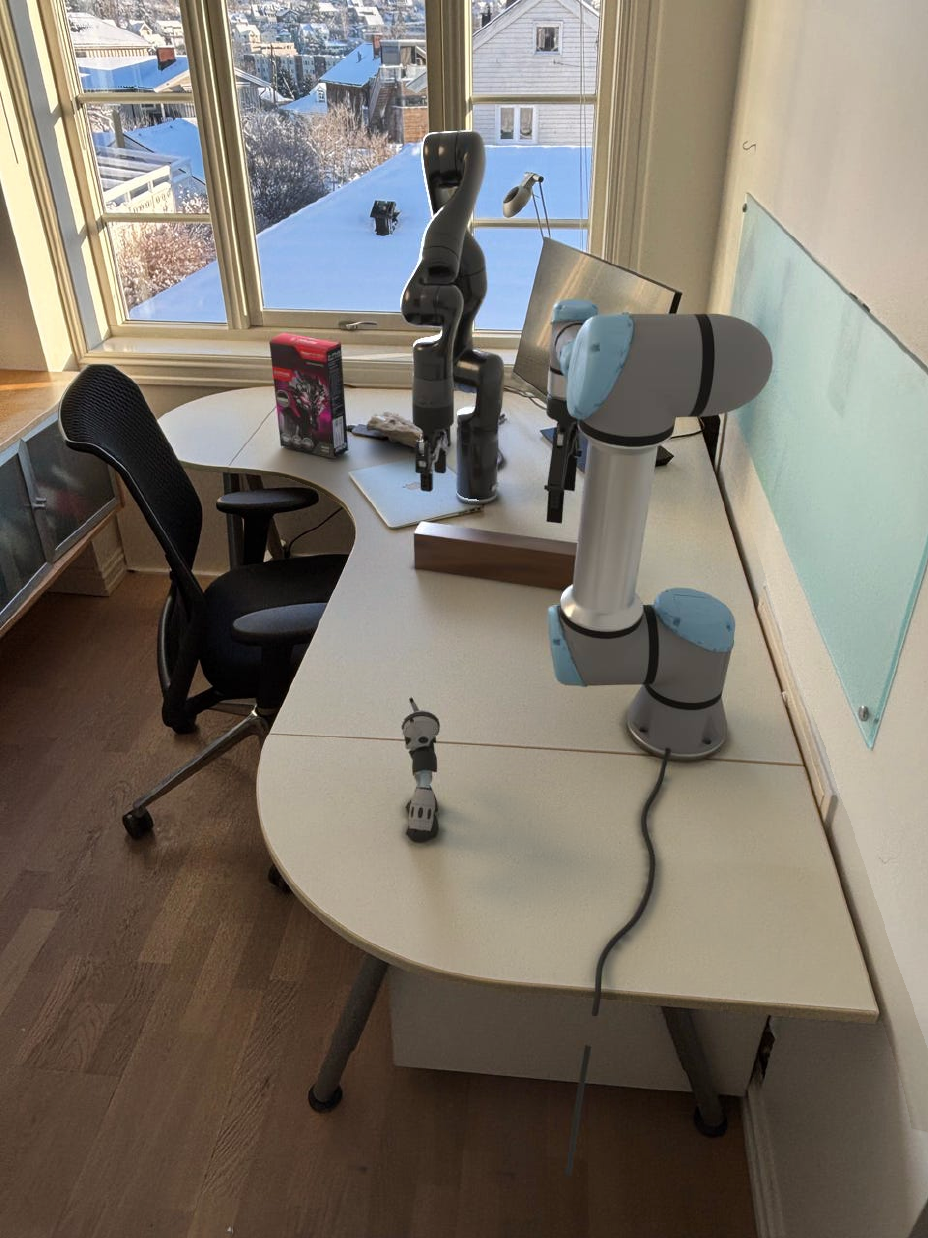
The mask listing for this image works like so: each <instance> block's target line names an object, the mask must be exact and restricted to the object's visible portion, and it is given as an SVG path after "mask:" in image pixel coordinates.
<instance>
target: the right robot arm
mask: <svg viewBox="0 0 928 1238" xmlns="http://www.w3.org/2000/svg"><path fill="white" fill-rule="evenodd" d="M550 325H551V328H550V329H551V331H550V349H549V352H550V353H549V366H548V374H547V387H546V388H547V392H548V393H547V396H546V409H545V410H546V416H547V417H548V418H549V419H551V420H553V421H555V422H556V427H555V426H554V429H553V434H552V448H551V454H550V463H549V469H548V475H547V476H548V477H547V484H544V485H543V489H544V490H545V491H546V492H547V505H546V506H547V507H546V523H554V524H561V525H562V523H563V518H564V517H563V515H564V501H565V500H564V499H565V491H569V492H575V490H576V479H577V469H578V468H577V467H578V458H582V454H583V450H580V448H581V443H580V442H581V434H582V435H583V436H584V437H585V438H586V439H587V448H586V457H585V466H584V476H583V486H582V494H581V503H580V504H581V505H580V512H579V513H580V514H579V523H578V531H577V532H578V533H577V542H576V543H577V551H576V560H575V570H574V579H573V585H571V586H569V587H568V588H567V589H566V590H565V591H564V590H563V592H562V593H561V597H560V602H559V604H554V605H551V606H549V607H548V608H547V614H546V615H547V628H548V629H547V630H548V636H549V646H550V647H549V648H550V654H551V662H552V668H553V673H554V677H555V678H556V680H557V681H558V682H559V683H560V684H562V685H564V686H574V687H575V686H576V687H583V688H587V687H596V686H599V687H600V686H636V685H638V686H640V688H639V689H638V691H637V692H636V694H635V695H634V697H633V699H632V701H631V702H630V704H629V706H628V708H627V711H626V719H625V728H626V732H627V734H628V736H629V738H630V739H631V741H632V742H634V744H636V745H637V746H638V747H639V748H640V749H641V750H643V751H645V752H646V753H648V754H650V755H651V756H654V757H656V758H659V759H662V761H661V767H660V770H659V775H658V777H657V778H658V779H657V781H656V784H655V785H654V788H653V790H652V792H651V793H650V794H649V797H648V798H647V800H646V802H645V803H644V806H643V809H642V812H641V817H640V826H641V832H642V836H643V839H644V842H645V845H646V849H647V853H648V858H649V870H648V879H647V884H646V889H645V892H644V894H643V897H642V900H641V902H640V904H639V906H638V908H637V910H636V912H635V913H634V915H633V916H632V918H630V920H629V921H628V922H627V923H626V924H625V925H624V926H623V927H622V928H621V929H620V930H619V931H618V932H616V934H615V935H613V936H612V938H610V940H609V941H608V942H607V943H606V945H605V946H604V948H603V949H602V951H601V954H600V956H599V958H598V961H597V965H596V969H595V980H594V981H595V982H594V995H593V1002H592V1008H591V1015H592V1016H593V1017H598V1015H599V1009H600V1004H601V996H602V982H603V969H604V965H605V962H606V959H607V958H608V955H609V953H610V952H611V950H612V949H613V947H614V946H615V945H617V943H618V942H619V941H620V940H621V939H622V938H623V937H624V936H625V935H626V934H627V933H629V932H630V930H631V929H632V928H634V926H635V925H636V924H637V922H638V921H639V920H640V918H641V917H642V915H643V913H644V911H645V908H646V907H647V905H648V902H649V900H650V897H651V895H652V894H651V893H652V891H653V887H654V883H655V874H656V856H655V851H654V847H653V845H652V844H653V843H652V841H651V838H650V835H649V831H648V826H647V818H648V812H649V809H650V807H651V805H652V803H653V801H654V800H655V798H656V797H657V795H658V793H659V791H660V789H661V787H662V784H663V781H664V778H665V774H666V770H667V765H668V762H669V761H670V762H675V763H694V762H700V761H703V760H706V759H709V758H711V757H714V755H716V754H718V752H720V751H721V750H722V748H723V747H724V744H725V743H726V740H727V739H726V738H727V733H728V721H727V716H726V712H725V708H724V707H725V706H724V701H723V692H724V686H725V682H726V678H727V672H728V668H729V664H730V659H731V654H732V651H733V649H734V646H735V631H736V620H735V617H734V614H733V612H732V611H731V609H730V608H729V607H728V606H727V605H726V604H725V603H724V602H723V601H721V600H720V599H718V598H716V597H715V596H713V595H711V594H709V593H706V592H704V591H701V590H698V589H695V588H689V587H688V588H687V587H672V588H670V587H669V588H667V589H665V590H663V591H660V592H659V593H658V595H657V596H656V597H655V599H654V600H653V604H644V603H643V600H642V598H641V596H640V595H639V594H638V593H637V592H636V589H637V583H638V576H639V571H640V563H641V557H642V551H643V545H644V544H643V543H644V537H645V531H646V526H647V519H648V511H649V506H650V499H651V494H652V487H653V481H654V474H655V469H656V468H655V467H656V461H657V455H658V449H659V448H658V447H660V446H662V445H663V444H665V443H666V442H668V441H669V440H670V439H671V438H672V436H673V434H674V431H675V424H676V420H677V418H697V417H700V418H701V417H713V416H719V415H724V414H727V413H730V412H733V411H735V410H738V409H741V408H742V407H744V406H745V405H747V404H749V403H751V402H752V401H753V400H754V399H755V398H757V396H759V394H760V393H761V392H762V391H763V389H764V388H765V387H766V385H767V383H769V382H768V381H769V379H770V376H771V374H772V371H773V370H772V369H773V364H774V359H773V352H772V348H771V345H770V343H769V340H768V339H767V337H766V336H765V334H764V333H763V332H762V331H761V330H760V329H759V328H758V327H756V326H755V325H753V324H752V323H750V322H748V321H746V320H745V319H743V318H738V317H736V316H731V315H728V314H721V313H705V312H704V313H629V312H628V311H622V312H618V313H612V314H611V313H610V314H599V306H598V305H597V304H596V302H594V301H591V300H587V299H583V298H567V299H562V300H559V301H557V302H556V303H555V304H554V305H553V308H552V317H551V321H550ZM583 1050H584V1051H583V1054H582V1061H581V1067H580V1073H579V1079H578V1086H577V1092H576V1098H575V1104H574V1105H575V1106H574V1112H573V1120H572V1127H571V1133H570V1142H569V1150H568V1157H567V1163H566V1171H565V1174H566V1175H567V1176H569V1177H570V1176H572V1174H573V1173H572V1172H573V1167H574V1159H575V1153H576V1147H577V1146H576V1145H577V1138H578V1131H579V1126H580V1125H579V1124H580V1117H581V1112H582V1105H583V1098H584V1093H585V1092H584V1091H585V1085H586V1080H587V1073H588V1067H589V1062H590V1055H591V1051H592V1046H590V1045H586V1044H584V1049H583Z"/></svg>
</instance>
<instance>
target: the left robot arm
mask: <svg viewBox="0 0 928 1238" xmlns="http://www.w3.org/2000/svg"><path fill="white" fill-rule="evenodd" d="M486 155H487V154H486V147H485V142H484V139H483V136H482V135H481V134H480V133H479V132H477V131H474V130H455V131H439V132H430V133H428V134H426V135H425V136H424V137H423V140H422V144H421V163H422V164H421V165H422V170H423V176H424V183H425V187H426V192H427V197H428V203H429V206H430V211H431V218H432V219H430V222H429V223H428V224H427V227H426V228H425V231H424V234H423V237H422V241H421V246H420V247H421V248H420V252H419V259H418V262H417V265H416V267H415V269H414V270H413V272H412V274H411V276H410V278H409V279H408V280H407V283H406V284H405V287H404V289H403V291H402V294H401V297H400V304H399V305H400V306H399V307H400V313H401V316H402V318H403V320H404V321H405V322H406V323H407V324H408V325H410V326H414V327H427V328H440V333H439V334H437V335H434V336H430V337H429V336H428V337H423V338H420V339H417V340H416V341H415V342H414V343H413V346H412V382H411V404H412V405H411V406H412V407H411V411H412V412H411V413H412V415H411V416H412V422H413V424H414V425H415V426H416V427H418V428H420V429H421V430H422V435H421V436H420V441H416V443H415V447H414V452H415V453H414V462H415V463H414V473H415V474H419V480H420V481H419V482H420V487H419V488H420V491H422V492H428V493H430V492H432V491H433V489H434V476H433V475H434V473H433V472H435V473H436V474H445V473H446V472H447V454H448V452H449V448H450V447H451V445H452V443H451V442H452V441H451V440H452V439H451V427H452V425H454V422H455V390H457V391H459V392H461V393H465V394H468V395H473V396H475V404H470V405H466V406H464V407H462V408H460V409H459V410H458V411H457V413H456V479H455V481H456V482H455V483H456V487H455V488H456V489H455V491H456V490H457V493H458V494H459V495H460V496H462V497H464V498H468V499H477V500H479V501H468V500H465V499H462V498H460V497H459V496H458V495H457V494H456V493H455V497H456V499H457V500H459V501H460V502H462V503H464V504H468V505H486V504H490V503H492V502H494V501H495V500H496V499H497V498H498V487H499V482H498V472H499V471H498V469H499V468H500V467H501V466H502V465H503V463H504V455H503V454H502V452H501V451H500V449H499V439H500V438H499V434H500V432H499V431H500V421H502V420H503V419H504V418H505V417H506V415H505V413H502V410H503V401H504V389H505V379H506V378H505V377H506V368H505V363H504V360H503V358H502V357H501V356H500V355H499V354H497V353H493V352H489V351H485V350H481V349H477V348H476V347H475V345H474V339H473V325H474V322H475V318H476V317H477V315H478V313H479V311H480V309H481V307H482V306H483V303H484V301H485V299H486V297H487V292H488V287H489V286H488V275H487V274H488V273H487V264H486V256H485V253H484V251H483V249H482V246H480V244H479V242H478V241H477V240H476V238H475V236H474V235H473V234H472V233H471V232H470V230H469V229H468V226H469V223H470V220H471V218H472V214H473V212H474V208H475V205H476V203H477V200H478V197H479V194H480V192H481V188H482V184H483V181H484V177H485V172H486V163H487V160H486V159H487V157H486ZM450 189H455V191H454V192H453V193H452V195H451V196H450V193H449V190H450Z"/></svg>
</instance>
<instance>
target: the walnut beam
mask: <svg viewBox="0 0 928 1238" xmlns="http://www.w3.org/2000/svg"><path fill="white" fill-rule="evenodd" d="M576 551H577V542H574V541H567V540H566V541H565V540H559V539H551V538H545V537H537V536H531V535H530V536H529V535H522V534H516V533H507V532H501V531H493V530H485V529H478V528H472V527H465V526H457V525H451V524H444V523H443V524H442V523H435V522H428V521H420V523H419V524H418V525H417V527H416V529H415V530H414V532H413V558H414V560H413V563H414V564H413V565H414V569H416V570H417V569H418V570H423V571H428V572H429V571H430V572H437V573H442V574H443V573H444V574H451V575H456V576H463V577H469V578H470V577H471V578H477V579H483V580H490V581H496V582H502V583H503V582H504V583H510V584H511V583H512V584H516V585H517V584H518V585H523V586H524V585H525V586H531V587H537V588H545V589H550V590H557V591H558V590H559V591H563V592H564V591H565V590H566V589H567V588H568V587H569V586H571V585H573V579H574V570H575V560H576Z"/></svg>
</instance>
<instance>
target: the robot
mask: <svg viewBox="0 0 928 1238" xmlns="http://www.w3.org/2000/svg"><path fill="white" fill-rule="evenodd" d="M408 700H409V703H410V705H411V708H412V711H413V712H411V713H409V714H408V715H407V716H406V717H405V718H403V721H402V723H401V727H400V728H401V731H402V732H401V733H402V735H403V737H404V743H405V744H404V745H405V746H404V747H405V749H406V750H408V754H409V756H410V758H411V761H412V762H411V763H412V764H411V771H412V776H413V778H414V779H415V782H416V787H415V789H414V791H413V792H414V793H413V795H412V797H411V799H410V800H409V801H408V802H407V803H406V805H405V809H406V811H407V814H408V827H407V829H406V831H405V835H406V836H407V837H408V839H410V840H411V841H412V842H416V843H425V842H428V841H430V840H432V839H435V838H437V835H438V832H439V830H440V828H439V820H438V817H437V815H436V813H438V811H439V808H438V799H437V797H436V794H435V792H434V789H433V788H432V785H431V783H432V782H433V773H437V772H438V757H437V754H436V752H435V744H437V737H436V736H438V735H439V733H440V730H441V729H440V728H441V724H440V721H439V718H438V717H437V716H436V715H435V714H433V713H432V712H430V711H428V710H424V709H423V710H420V709H419V707H418V705H417V704H416V702H415V700H414V698H413V697H409V699H408Z"/></svg>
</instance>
